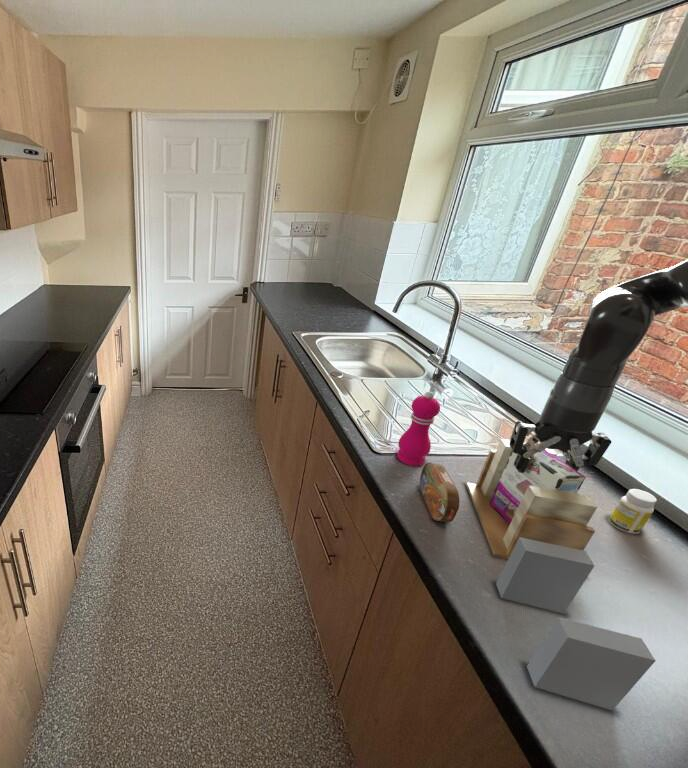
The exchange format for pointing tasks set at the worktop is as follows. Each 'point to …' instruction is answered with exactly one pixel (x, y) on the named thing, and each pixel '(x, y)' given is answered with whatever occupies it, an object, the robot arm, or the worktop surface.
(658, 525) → the worktop surface
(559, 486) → the candy bar box
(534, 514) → the book rack
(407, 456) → the pepper mill
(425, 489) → the tin
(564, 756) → the worktop surface
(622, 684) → the grey blocks
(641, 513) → the supplement bottle
